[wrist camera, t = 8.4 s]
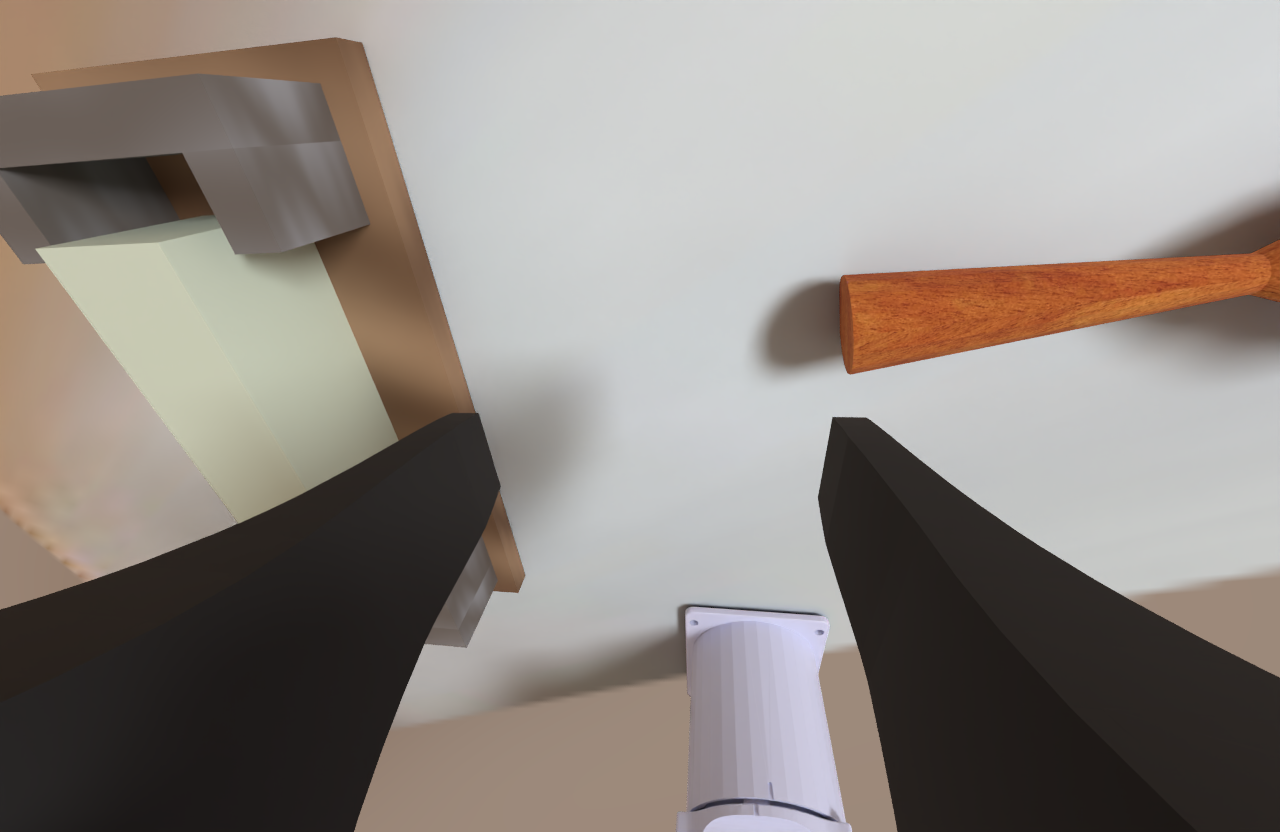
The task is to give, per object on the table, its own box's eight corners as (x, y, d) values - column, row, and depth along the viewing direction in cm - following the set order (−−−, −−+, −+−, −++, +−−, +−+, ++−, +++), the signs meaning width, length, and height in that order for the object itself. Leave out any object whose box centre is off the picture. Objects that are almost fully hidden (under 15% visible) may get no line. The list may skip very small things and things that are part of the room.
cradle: (525, 575, 28) (490, 660, 23) (359, 564, 29) (298, 642, 25) (362, 42, 14) (210, 11, 10) (73, 76, 16) (-165, 62, 12)
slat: (438, 533, 25) (383, 618, 21) (370, 529, 25) (303, 611, 21) (300, 210, 16) (158, 242, 12) (202, 215, 17) (35, 248, 13)
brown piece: (858, 236, 12) (2508, -59, 6) (830, 230, 17) (1700, 69, 11) (863, 443, 14) (2103, 371, 8) (837, 381, 19) (1577, 310, 14)
